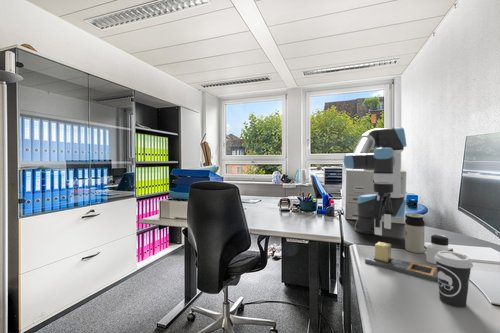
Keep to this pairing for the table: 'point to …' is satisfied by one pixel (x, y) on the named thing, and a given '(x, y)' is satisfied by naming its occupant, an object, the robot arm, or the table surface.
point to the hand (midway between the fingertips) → (383, 231)
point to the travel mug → (414, 233)
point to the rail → (406, 267)
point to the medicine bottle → (437, 247)
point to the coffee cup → (453, 277)
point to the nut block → (383, 252)
